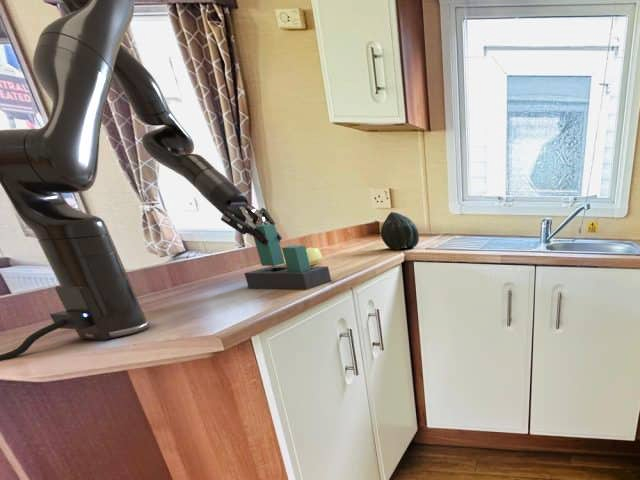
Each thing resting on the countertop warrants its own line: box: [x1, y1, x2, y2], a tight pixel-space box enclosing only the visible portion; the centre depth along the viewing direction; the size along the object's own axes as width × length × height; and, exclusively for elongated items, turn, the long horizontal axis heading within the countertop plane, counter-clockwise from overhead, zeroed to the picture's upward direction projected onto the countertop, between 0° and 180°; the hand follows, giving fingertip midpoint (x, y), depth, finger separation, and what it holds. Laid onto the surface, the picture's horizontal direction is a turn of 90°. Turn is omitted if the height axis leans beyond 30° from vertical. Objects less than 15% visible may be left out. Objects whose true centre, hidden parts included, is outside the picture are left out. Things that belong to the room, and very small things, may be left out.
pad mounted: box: [281, 245, 310, 272], centre depth 113 cm, size 4×4×10 cm
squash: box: [380, 211, 420, 250], centre depth 174 cm, size 14×15×15 cm
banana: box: [279, 247, 323, 266], centre depth 144 cm, size 14×6×20 cm
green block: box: [253, 224, 286, 267], centre depth 112 cm, size 4×4×10 cm
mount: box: [243, 265, 332, 290], centre depth 115 cm, size 10×18×4 cm, turn 76°
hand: (273, 241), depth 111 cm, fingers closed on green block, 4 cm apart
